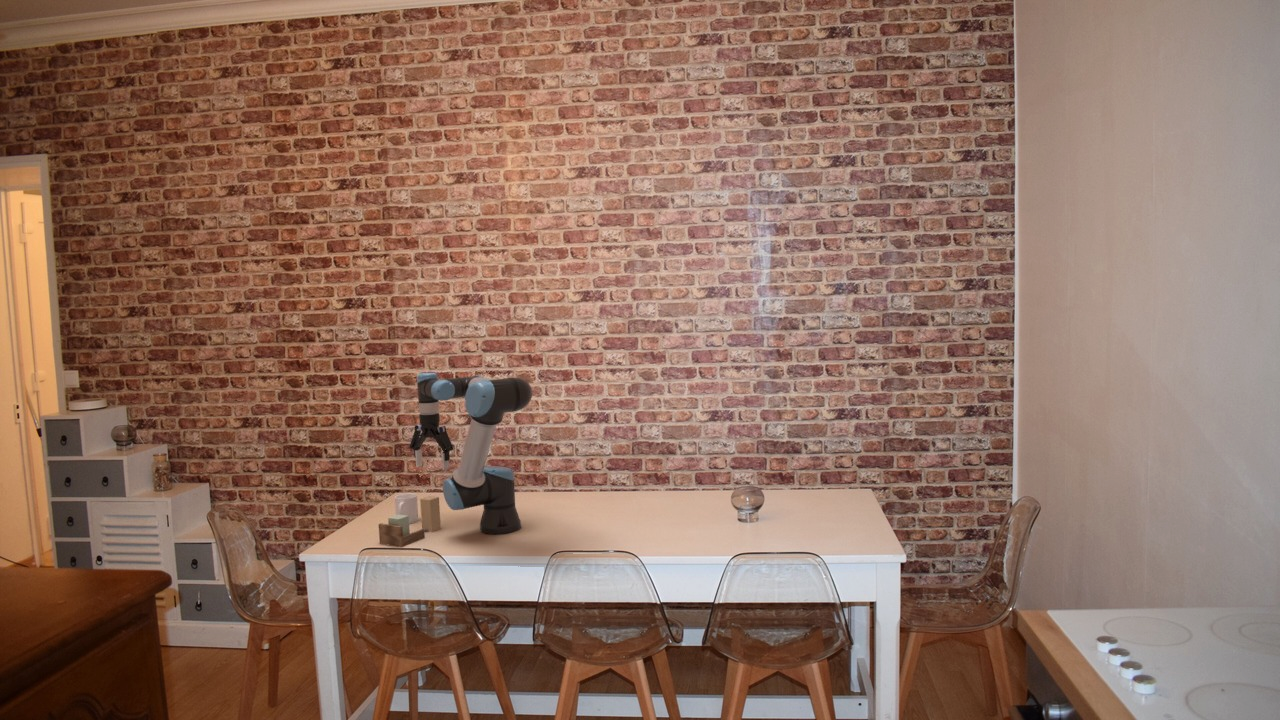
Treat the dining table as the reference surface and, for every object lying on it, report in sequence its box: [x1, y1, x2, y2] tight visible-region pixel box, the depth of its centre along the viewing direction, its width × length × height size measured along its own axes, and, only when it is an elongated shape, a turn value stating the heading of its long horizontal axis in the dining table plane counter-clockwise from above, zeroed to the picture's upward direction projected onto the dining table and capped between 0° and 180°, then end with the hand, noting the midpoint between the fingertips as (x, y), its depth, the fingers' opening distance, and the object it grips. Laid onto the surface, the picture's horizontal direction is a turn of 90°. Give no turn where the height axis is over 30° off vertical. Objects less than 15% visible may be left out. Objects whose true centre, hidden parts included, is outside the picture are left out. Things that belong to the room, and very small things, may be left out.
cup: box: [394, 492, 419, 525], centre depth 320 cm, size 8×12×10 cm
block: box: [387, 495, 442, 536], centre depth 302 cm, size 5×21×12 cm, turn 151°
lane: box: [378, 522, 425, 548], centre depth 297 cm, size 10×12×7 cm
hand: (432, 467), depth 318 cm, fingers open, 13 cm apart
